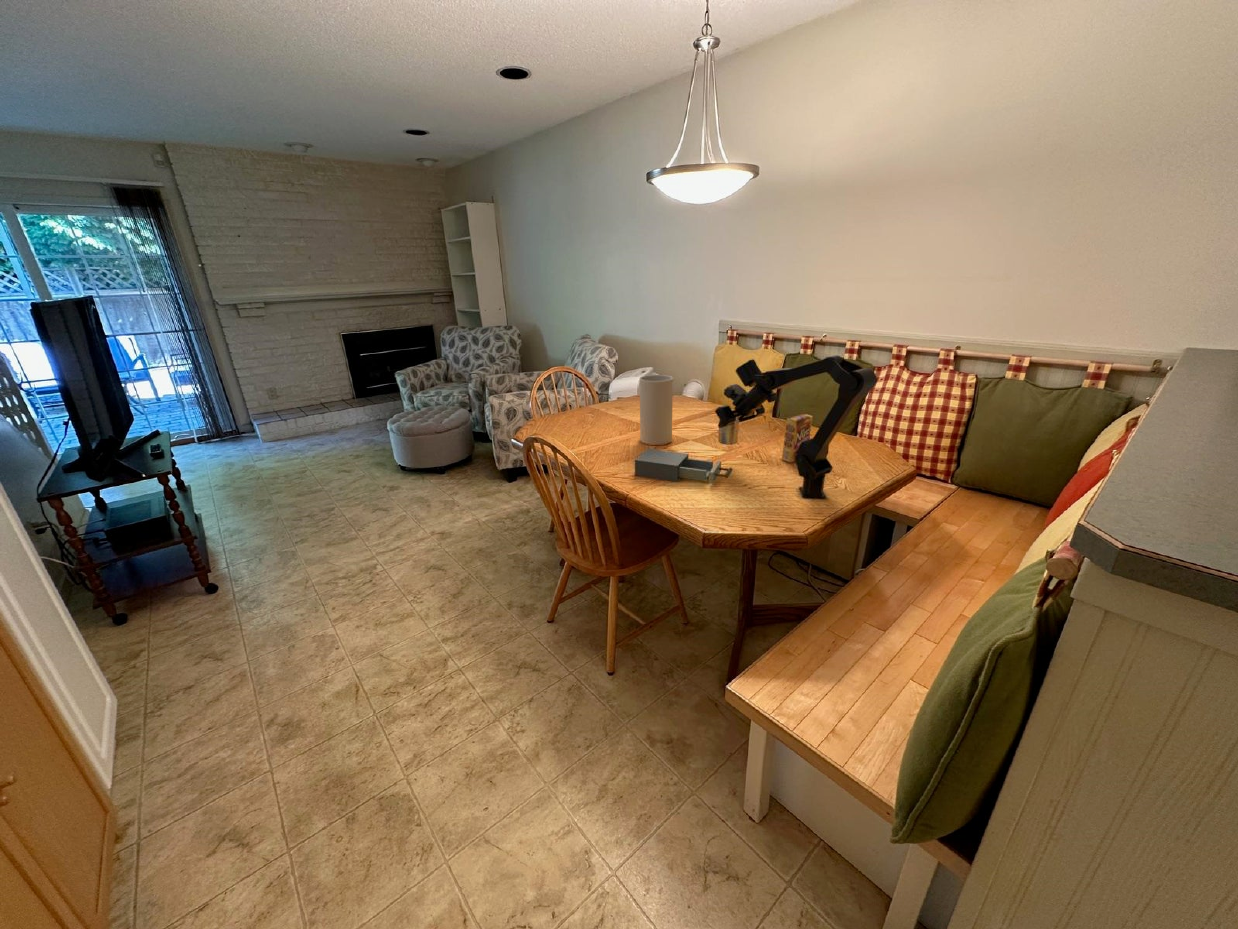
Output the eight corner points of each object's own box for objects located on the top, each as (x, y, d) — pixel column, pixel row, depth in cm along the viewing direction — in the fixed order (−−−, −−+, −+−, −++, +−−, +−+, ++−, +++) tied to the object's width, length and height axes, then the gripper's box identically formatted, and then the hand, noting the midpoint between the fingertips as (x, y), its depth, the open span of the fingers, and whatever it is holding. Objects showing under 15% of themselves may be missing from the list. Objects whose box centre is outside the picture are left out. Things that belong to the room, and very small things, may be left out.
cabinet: (688, 469, 161) (688, 453, 159) (677, 482, 151) (677, 465, 149) (647, 463, 166) (647, 448, 164) (634, 475, 157) (634, 459, 155)
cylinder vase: (677, 438, 191) (678, 376, 182) (662, 447, 181) (662, 382, 172) (650, 434, 197) (650, 373, 188) (634, 442, 188) (633, 379, 179)
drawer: (733, 473, 154) (734, 462, 152) (726, 485, 145) (727, 474, 144) (681, 466, 161) (681, 455, 159) (671, 477, 152) (671, 466, 151)
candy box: (791, 463, 163) (796, 420, 157) (781, 459, 166) (785, 417, 160) (808, 457, 167) (813, 415, 162) (797, 454, 171) (802, 413, 165)
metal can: (732, 446, 158) (734, 416, 154) (714, 442, 161) (715, 413, 158) (741, 440, 162) (743, 412, 159) (723, 437, 166) (725, 409, 163)
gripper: (760, 373, 156) (732, 400, 168) (721, 381, 146) (694, 410, 158) (778, 401, 153) (748, 427, 165) (739, 411, 143) (711, 438, 155)
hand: (725, 424), depth 161 cm, fingers closed on metal can, 6 cm apart
